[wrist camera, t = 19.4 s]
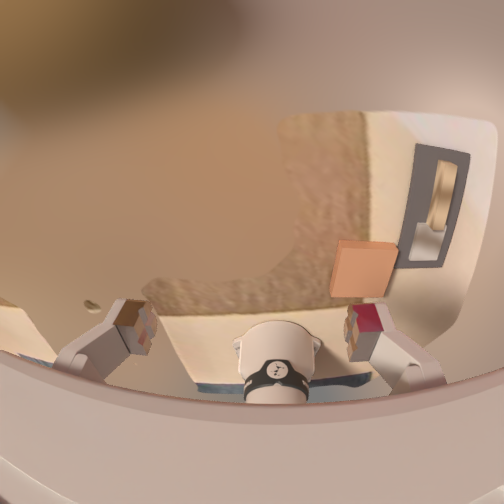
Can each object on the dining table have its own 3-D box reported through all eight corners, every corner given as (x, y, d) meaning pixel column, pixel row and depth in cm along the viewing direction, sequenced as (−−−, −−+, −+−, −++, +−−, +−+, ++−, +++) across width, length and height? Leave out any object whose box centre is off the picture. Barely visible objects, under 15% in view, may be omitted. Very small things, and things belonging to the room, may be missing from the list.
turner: (435, 257, 44) (440, 265, 42) (408, 258, 45) (413, 266, 43) (457, 162, 34) (465, 167, 32) (429, 158, 35) (436, 162, 33)
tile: (393, 242, 44) (379, 287, 50) (338, 238, 45) (328, 287, 50) (398, 250, 42) (382, 297, 48) (342, 247, 43) (331, 296, 48)
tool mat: (440, 265, 46) (441, 267, 45) (392, 266, 46) (393, 268, 46) (468, 153, 34) (470, 154, 33) (415, 143, 35) (417, 144, 34)
